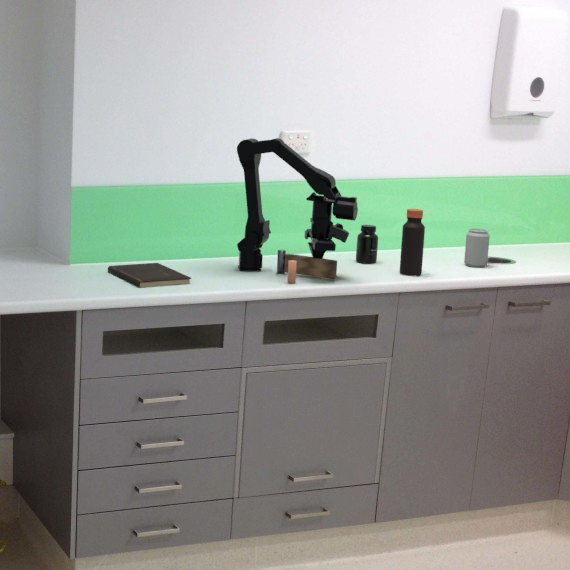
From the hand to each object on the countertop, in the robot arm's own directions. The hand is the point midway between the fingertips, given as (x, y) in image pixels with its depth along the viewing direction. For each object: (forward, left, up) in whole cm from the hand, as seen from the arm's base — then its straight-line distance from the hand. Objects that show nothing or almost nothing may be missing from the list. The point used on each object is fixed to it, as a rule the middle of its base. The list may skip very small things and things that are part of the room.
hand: (317, 267), depth 321 cm
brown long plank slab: (-3, -2, -2) cm, 4 cm away
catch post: (-9, -10, -3) cm, 14 cm away
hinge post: (-11, +4, -3) cm, 11 cm away
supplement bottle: (+20, +24, -3) cm, 31 cm away
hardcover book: (-50, -5, -3) cm, 51 cm away
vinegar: (+30, +6, -3) cm, 31 cm away
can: (+56, +21, -3) cm, 60 cm away
